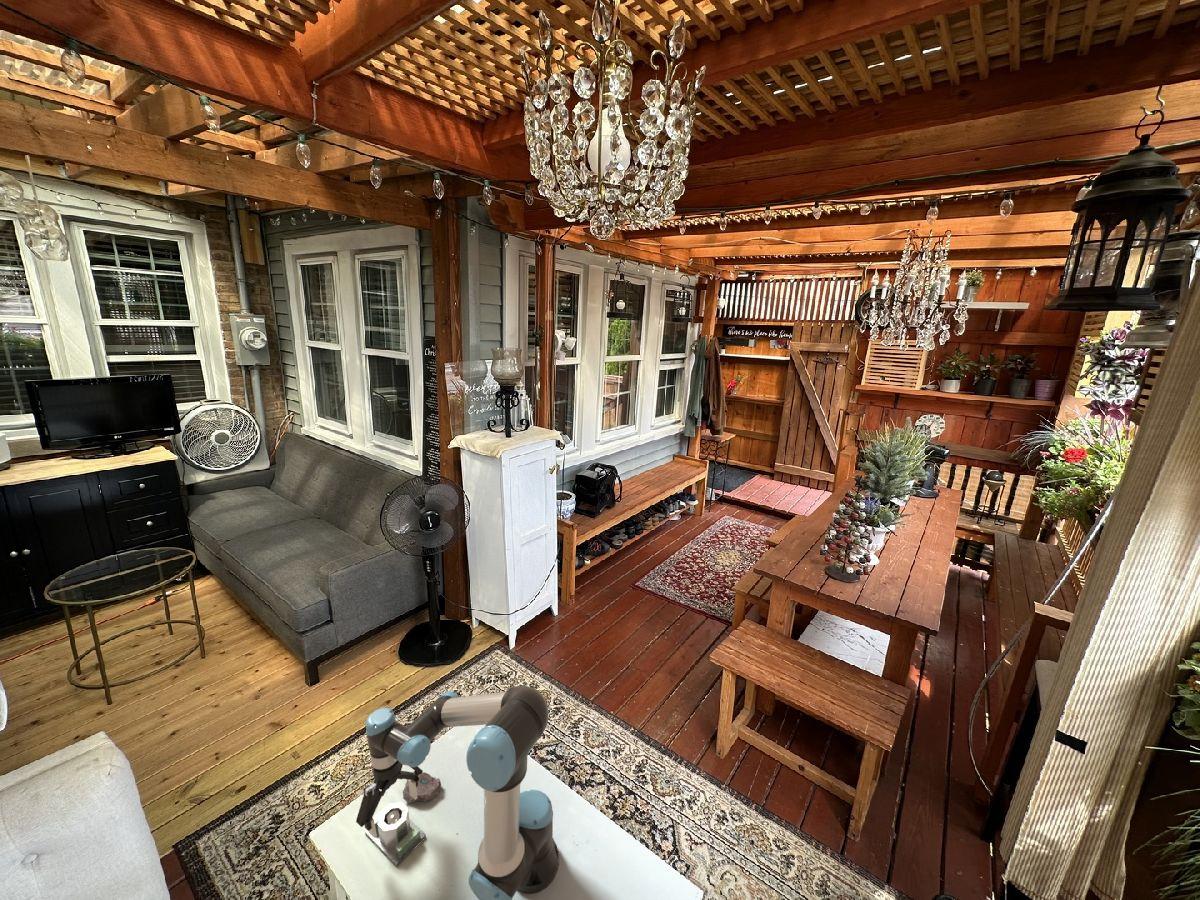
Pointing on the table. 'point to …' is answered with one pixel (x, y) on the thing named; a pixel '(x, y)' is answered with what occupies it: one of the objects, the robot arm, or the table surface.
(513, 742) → the robot arm
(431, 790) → the rock
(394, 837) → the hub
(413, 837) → the stand
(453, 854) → the table surface
